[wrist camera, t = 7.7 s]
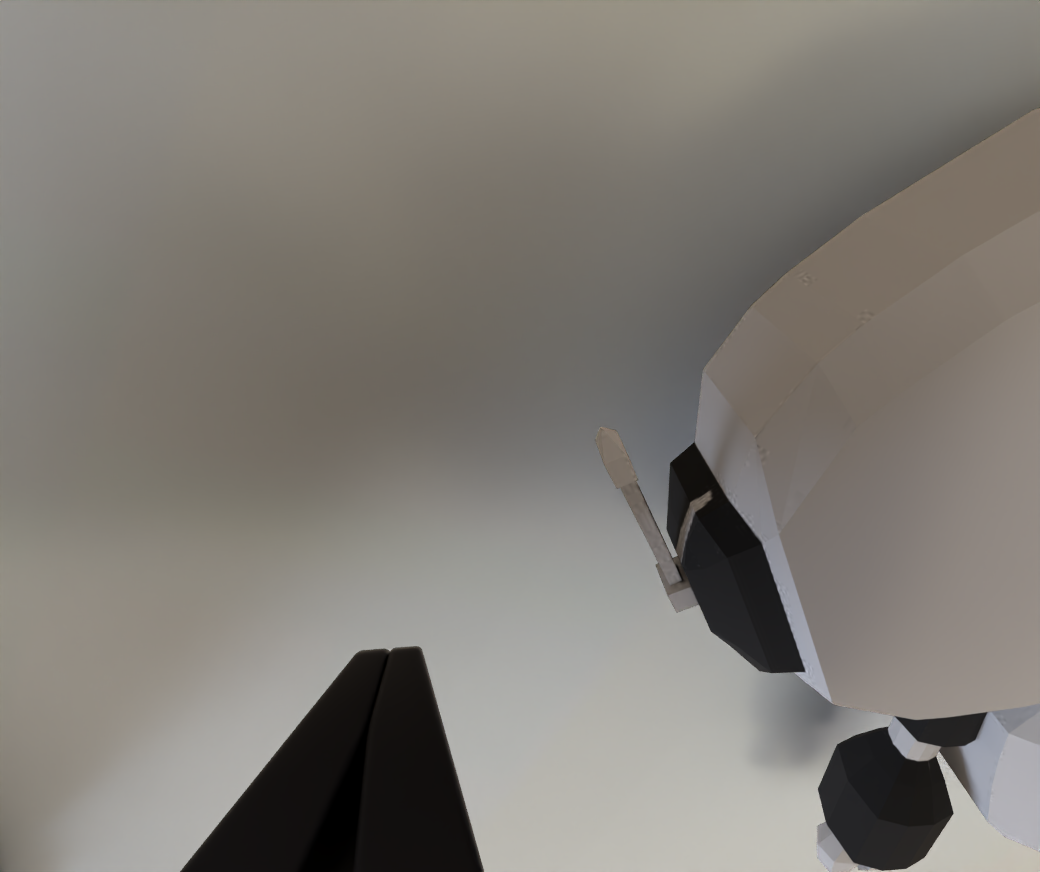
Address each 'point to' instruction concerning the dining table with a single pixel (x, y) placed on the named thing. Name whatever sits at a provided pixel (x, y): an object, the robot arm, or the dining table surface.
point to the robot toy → (885, 500)
